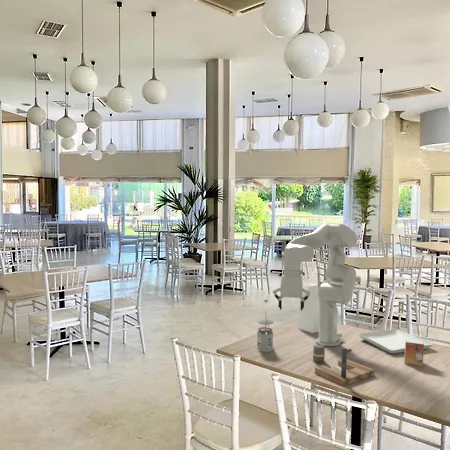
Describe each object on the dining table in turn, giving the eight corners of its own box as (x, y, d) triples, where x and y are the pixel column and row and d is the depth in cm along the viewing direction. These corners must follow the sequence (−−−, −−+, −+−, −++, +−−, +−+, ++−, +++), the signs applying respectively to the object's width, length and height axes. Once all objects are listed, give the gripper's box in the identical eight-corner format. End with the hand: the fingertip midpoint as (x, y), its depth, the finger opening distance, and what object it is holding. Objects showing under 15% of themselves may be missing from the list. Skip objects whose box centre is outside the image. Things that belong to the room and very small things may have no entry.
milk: (310, 324, 268) (311, 282, 267) (325, 329, 260) (327, 285, 258) (297, 328, 261) (298, 284, 259) (312, 333, 252) (314, 287, 250)
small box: (404, 363, 208) (405, 341, 207) (404, 359, 213) (405, 338, 212) (423, 366, 205) (424, 344, 204) (422, 362, 210) (423, 340, 209)
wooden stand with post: (345, 363, 206) (346, 333, 205) (374, 375, 193) (375, 342, 192) (314, 373, 195) (316, 340, 194) (344, 386, 182) (345, 351, 181)
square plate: (356, 339, 243) (356, 332, 243) (396, 335, 253) (396, 328, 252) (391, 356, 218) (391, 349, 217) (434, 351, 227) (434, 343, 227)
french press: (253, 350, 222) (254, 300, 221) (257, 343, 233) (258, 295, 232) (273, 352, 220) (274, 302, 218) (276, 344, 231) (277, 297, 230)
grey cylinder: (318, 358, 213) (318, 344, 212) (326, 361, 208) (327, 347, 208) (310, 360, 210) (310, 346, 209) (318, 364, 205) (319, 349, 205)
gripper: (310, 272, 209) (309, 308, 211) (273, 271, 211) (272, 306, 213) (311, 275, 202) (310, 312, 203) (273, 273, 204) (272, 310, 205)
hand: (291, 309), depth 208 cm, fingers open, 9 cm apart
